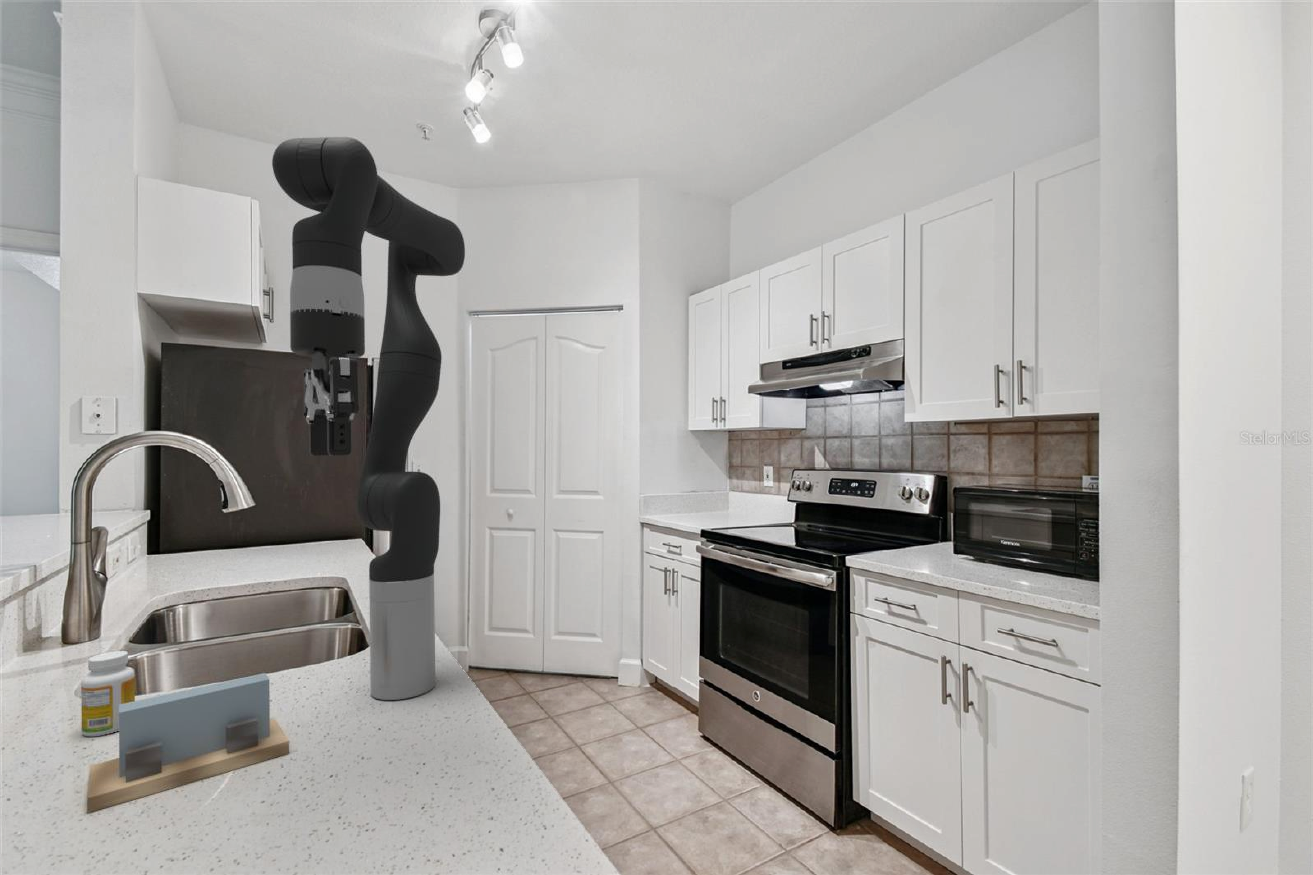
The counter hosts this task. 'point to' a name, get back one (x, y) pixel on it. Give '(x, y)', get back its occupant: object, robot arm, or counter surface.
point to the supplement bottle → (106, 692)
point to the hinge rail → (180, 765)
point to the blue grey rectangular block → (193, 718)
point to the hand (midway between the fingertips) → (329, 455)
